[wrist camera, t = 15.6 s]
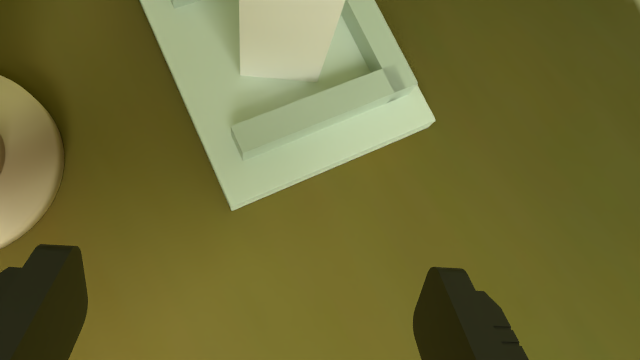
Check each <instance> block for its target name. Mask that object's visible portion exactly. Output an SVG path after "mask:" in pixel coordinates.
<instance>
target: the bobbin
mask: <svg viewBox="0 0 640 360" xmlns="http://www.w3.org/2000/svg"><path fill="white" fill-rule="evenodd" d="M63 170H64V148H63V142H62V138H61V135H60V132H59V130H58V127H57V125H56V123H55V121H54V120H53V118H52V117H51V115H50V114H49V112H48V111H47V110H46V109H45V108H44V107H43V106H42V105H41V104H40V103H39V102H38V101H37V100H36V99H35V98H34V97H33V96H32V95H31V94H30V93H28V92H27V91H26V90H25V89H24V88H22V87H21V86H20V85H18V84H16V83H15V82H13V81H11V80H10V79H7V78H5V77H3V76H1V75H0V249H1V248H3V247H5V246H7V245H9V244H11V243H12V242H14V241H15V240H17V239H19V238H20V237H21V236H23V235H24V234H25V233H26V232H28V231H29V230H30V229H31V228H32V227H33V226H34V225H35V224H36V223H37V222H38V221H39V220H40V219H41V218H42V216H43V215H44V214H45V213H46V211H47V210H48V208H49V207H50V205H51V204H52V202H53V200H54V198H55V196H56V194H57V192H58V190H59V187H60V184H61V180H62V177H63Z"/></svg>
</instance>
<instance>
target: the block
mask: <svg viewBox="0 0 640 360" xmlns="http://www.w3.org/2000/svg"><path fill="white" fill-rule="evenodd" d="M344 3H345V0H239V32H240V75H242V76H253V77H264V78H275V79H286V80H297V81H308V82H317V81H318V78H319V75H320V72H321V69H322V67H323V64H324V61H325V58H326V55H327V52H328V49H329V46H330V44H331V41H332V38H333V35H334V32H335V29H336V26H337V23H338V21H339V18H340V15H341V12H342V9H343V6H344Z"/></svg>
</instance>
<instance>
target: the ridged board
mask: <svg viewBox="0 0 640 360" xmlns="http://www.w3.org/2000/svg"><path fill="white" fill-rule="evenodd" d="M139 1H140V3H141V5H142V8H143V10H144V12H145V14H146V17H147V19H148V21H149V24H150V26H151V28H152V30H153V33H154V35H155V37H156V40H157V42H158V44H159V46H160V49H161V51H162V53H163V56H164V58H165V60H166V62H167V65H168V67H169V69H170V71H171V74H172V76H173V78H174V81H175V83H176V85H177V87H178V90H179V92H180V94H181V97H182V99H183V101H184V103H185V106H186V108H187V110H188V113H189V115H190V117H191V119H192V122H193V124H194V126H195V129H196V131H197V133H198V135H199V138H200V140H201V142H202V145H203V147H204V149H205V151H206V154H207V156H208V158H209V161H210V163H211V165H212V167H213V170H214V172H215V174H216V177H217V179H218V181H219V183H220V186H221V188H222V190H223V193H224V195H225V197H226V199H227V202H228V204H229V206H230V208H231V211H233V210H235V209H238V208H240V207H242V206H245V205H247V204H249V203H252V202H254V201H256V200H259V199H261V198H263V197H266V196H268V195H271V194H273V193H275V192H278V191H280V190H282V189H285V188H287V187H289V186H292V185H294V184H296V183H299V182H301V181H303V180H306V179H308V178H310V177H313V176H315V175H317V174H320V173H322V172H325V171H327V170H329V169H332V168H334V167H336V166H339V165H341V164H343V163H346V162H348V161H350V160H353V159H355V158H357V157H360V156H362V155H364V154H367V153H369V152H371V151H374V150H376V149H379V148H381V147H383V146H386V145H388V144H390V143H393V142H395V141H397V140H400V139H402V138H404V137H407V136H409V135H411V134H414V133H416V132H418V131H421V130H423V129H425V128H428V127H429V126H430V125H431V124H432V123H433V122H434V121H435V118H434V116H433V114H432V112H431V110H430V108H429V106H428V105H427V103H426V101H425V99H424V97H423V95H422V93H421V91H420V89H419V87H418V85H417V84H418V82H417V80H416V78H415V76H414V74H413V73H412V71H411V69H410V67H409V65H408V63H407V61H406V59H405V57H404V55H403V54H402V52H401V50H400V48H399V46H398V44H397V42H396V40H395V38H394V36H393V34H392V33H391V31H390V29H389V27H388V25H387V23H386V21H385V19H384V17H383V15H382V14H381V12H380V10H379V8H378V6H377V4H376V2H375V0H345V3H344V6H343V9H342V12H341V15H340V18H339V21H338V23H337V26H336V29H335V32H334V35H333V38H332V41H331V44H330V46H329V49H328V52H327V55H326V58H325V61H324V64H323V67H322V69H321V72H320V75H319V78H318V81H317V82H308V81H297V80H286V79H275V78H264V77H253V76H242V75H240V32H239V0H139Z"/></svg>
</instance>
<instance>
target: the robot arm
mask: <svg viewBox="0 0 640 360" xmlns="http://www.w3.org/2000/svg"><path fill="white" fill-rule="evenodd" d="M87 306H88V296H87V289H86V282H85V275H84V268H83V262H82V255H81V251H80V248H79V247H78V246H64V245H46V244H40V245H38V246H37V247H36V248H35V249H34V251H33V252H32V254H31V255H30V257H29V258H28V260H27V261H26V263H25V264H24V266H23V268H17V267H8V268H7V269H5V270H4V271H2V272H1V273H0V360H68V359H69V357H70V354H71V352H72V350H73V347H74V345H75V343H76V340H77V338H78V336H79V334H80V331H81V329H82V327H83V324H84V321H85V317H86V313H87ZM413 331H414V336H415V340H416V343H417V346H418V350H419V353H420V356H421V359H422V360H529V359H528V358H527V356H526V354H525V352H524V350H523V348H522V346H519V341H518V339H517V337H516V335H515V333H514V332H513V330H511V326H510V324H509V322H508V320H507V319H506V317H505V315H504V313H503V311H502V309H501V308H500V307H499V306H498V305H497V304H496V303H495V302H494V301H493V300H492V299H491V298H490V297H489V296H488V295H487V294H486V293H485V292H484V291H475V289H474V287H473V285H472V283H471V281H470V278H469V276H468V274H467V273H466V271H465V270H463V269H460V268H441V267H432V268H430V270H429V271H428V273H427V276H426V279H425V282H424V285H423V288H422V291H421V294H420V296H419V299H418V302H417V305H416V308H415V311H414V316H413Z"/></svg>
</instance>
